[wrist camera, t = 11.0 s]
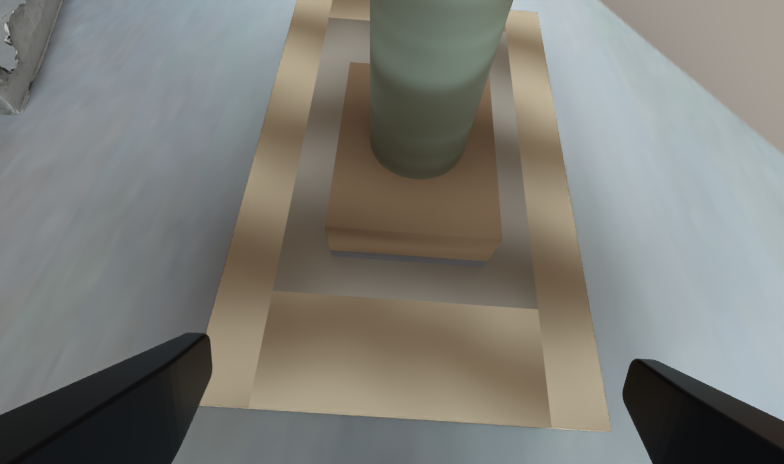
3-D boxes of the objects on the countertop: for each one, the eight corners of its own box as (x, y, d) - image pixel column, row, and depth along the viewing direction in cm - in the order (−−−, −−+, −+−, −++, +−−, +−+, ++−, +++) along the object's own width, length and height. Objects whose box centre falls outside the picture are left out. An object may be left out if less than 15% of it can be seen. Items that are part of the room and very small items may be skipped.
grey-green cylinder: (483, 267, 15) (679, -19, 6) (331, 256, 15) (261, -53, 6) (475, 114, 19) (585, -219, 9) (352, 105, 19) (332, -243, 9)
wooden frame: (596, 431, 14) (611, 431, 13) (198, 405, 14) (186, 403, 13) (531, 27, 24) (537, 12, 23) (301, 9, 24) (299, -8, 23)
